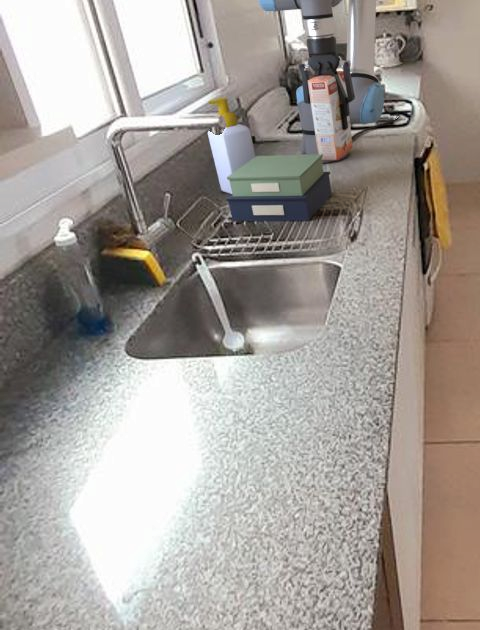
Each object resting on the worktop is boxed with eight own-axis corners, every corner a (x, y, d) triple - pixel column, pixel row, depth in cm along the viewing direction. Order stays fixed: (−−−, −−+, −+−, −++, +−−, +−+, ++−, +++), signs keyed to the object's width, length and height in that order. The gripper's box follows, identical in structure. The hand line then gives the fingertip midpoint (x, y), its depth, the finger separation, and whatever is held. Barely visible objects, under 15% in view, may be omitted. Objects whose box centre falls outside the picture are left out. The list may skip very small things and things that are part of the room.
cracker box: (339, 161, 162) (328, 79, 151) (318, 161, 163) (305, 80, 152) (354, 147, 174) (344, 69, 163) (334, 147, 175) (323, 70, 164)
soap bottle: (219, 191, 173) (197, 100, 160) (246, 183, 178) (227, 94, 166) (236, 197, 167) (215, 103, 155) (263, 188, 173) (245, 96, 160)
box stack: (262, 194, 168) (254, 154, 163) (333, 193, 165) (327, 153, 159) (231, 221, 151) (220, 178, 145) (309, 221, 147) (302, 177, 142)
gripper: (280, 40, 152) (296, 133, 163) (353, 36, 148) (364, 131, 160) (290, 37, 158) (304, 126, 170) (360, 32, 155) (370, 124, 166)
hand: (333, 128), depth 165 cm, fingers closed on cracker box, 6 cm apart
